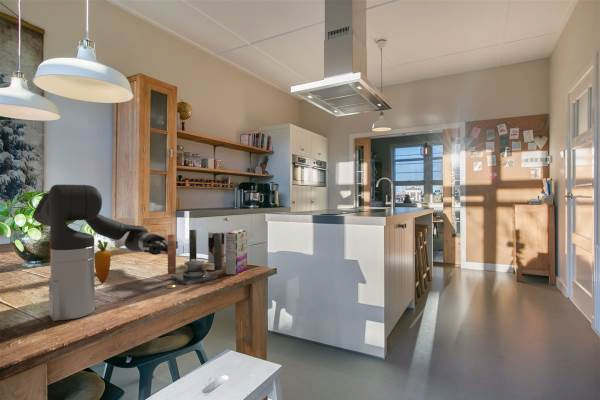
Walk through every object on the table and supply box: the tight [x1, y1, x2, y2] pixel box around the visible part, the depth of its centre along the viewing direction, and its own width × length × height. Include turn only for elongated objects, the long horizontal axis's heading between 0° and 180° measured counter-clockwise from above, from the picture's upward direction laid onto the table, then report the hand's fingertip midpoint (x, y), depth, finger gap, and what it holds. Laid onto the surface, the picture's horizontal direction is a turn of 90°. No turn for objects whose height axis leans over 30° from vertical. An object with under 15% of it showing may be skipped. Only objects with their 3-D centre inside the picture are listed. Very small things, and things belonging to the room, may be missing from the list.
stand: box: [165, 270, 218, 289], centre depth 116 cm, size 18×13×3 cm
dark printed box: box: [207, 230, 226, 269], centre depth 136 cm, size 7×7×15 cm
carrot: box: [94, 239, 112, 284], centre depth 110 cm, size 5×5×15 cm
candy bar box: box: [225, 229, 248, 276], centre depth 129 cm, size 11×5×16 cm, turn 168°
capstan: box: [167, 229, 222, 275], centre depth 117 cm, size 18×17×14 cm
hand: (172, 250), depth 112 cm, fingers closed
